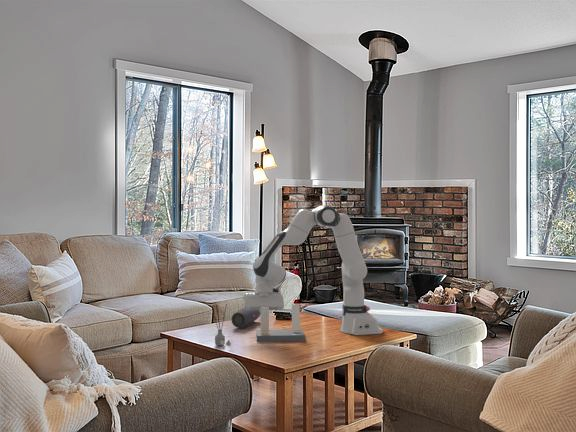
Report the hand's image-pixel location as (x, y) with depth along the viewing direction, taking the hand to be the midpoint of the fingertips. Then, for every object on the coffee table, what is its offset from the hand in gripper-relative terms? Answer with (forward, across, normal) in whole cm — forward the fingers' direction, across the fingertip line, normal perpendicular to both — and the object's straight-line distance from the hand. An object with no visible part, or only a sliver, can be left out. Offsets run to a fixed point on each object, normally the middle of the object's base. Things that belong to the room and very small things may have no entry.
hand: (264, 316), depth 305 cm
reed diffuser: (+15, -22, +2) cm, 26 cm away
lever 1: (+5, 0, +7) cm, 9 cm away
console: (+7, +8, +9) cm, 15 cm away
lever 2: (+5, +16, +7) cm, 19 cm away
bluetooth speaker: (-14, -9, +32) cm, 36 cm away
